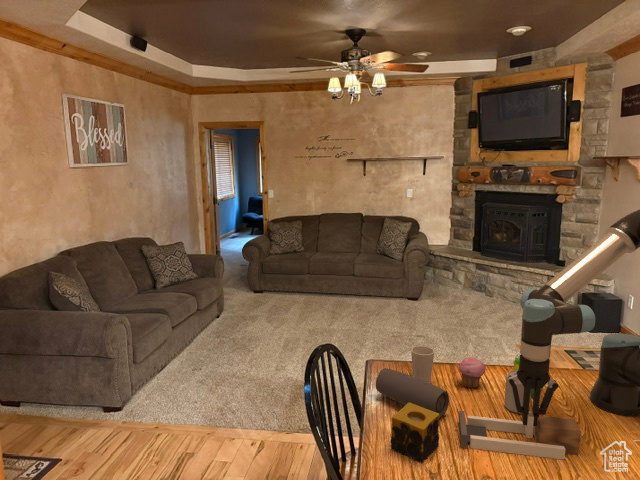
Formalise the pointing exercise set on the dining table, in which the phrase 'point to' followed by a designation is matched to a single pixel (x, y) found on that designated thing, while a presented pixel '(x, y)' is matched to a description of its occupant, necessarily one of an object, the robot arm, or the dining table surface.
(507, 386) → the can
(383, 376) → the bluetooth speaker
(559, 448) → the channel
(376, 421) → the dining table surface
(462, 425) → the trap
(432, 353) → the cup
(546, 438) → the block
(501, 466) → the dining table surface
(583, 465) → the dining table surface
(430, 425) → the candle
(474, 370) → the cupcake
